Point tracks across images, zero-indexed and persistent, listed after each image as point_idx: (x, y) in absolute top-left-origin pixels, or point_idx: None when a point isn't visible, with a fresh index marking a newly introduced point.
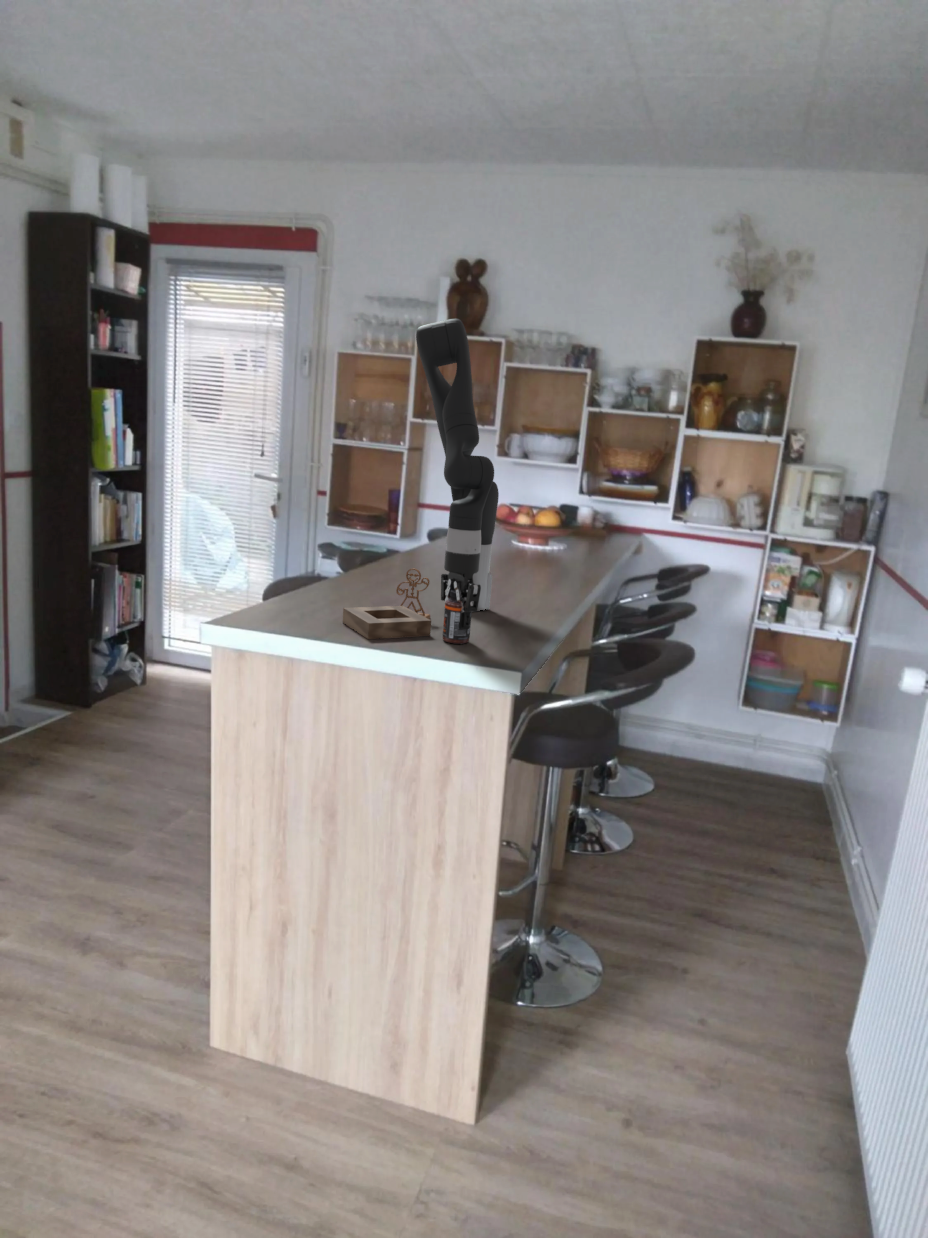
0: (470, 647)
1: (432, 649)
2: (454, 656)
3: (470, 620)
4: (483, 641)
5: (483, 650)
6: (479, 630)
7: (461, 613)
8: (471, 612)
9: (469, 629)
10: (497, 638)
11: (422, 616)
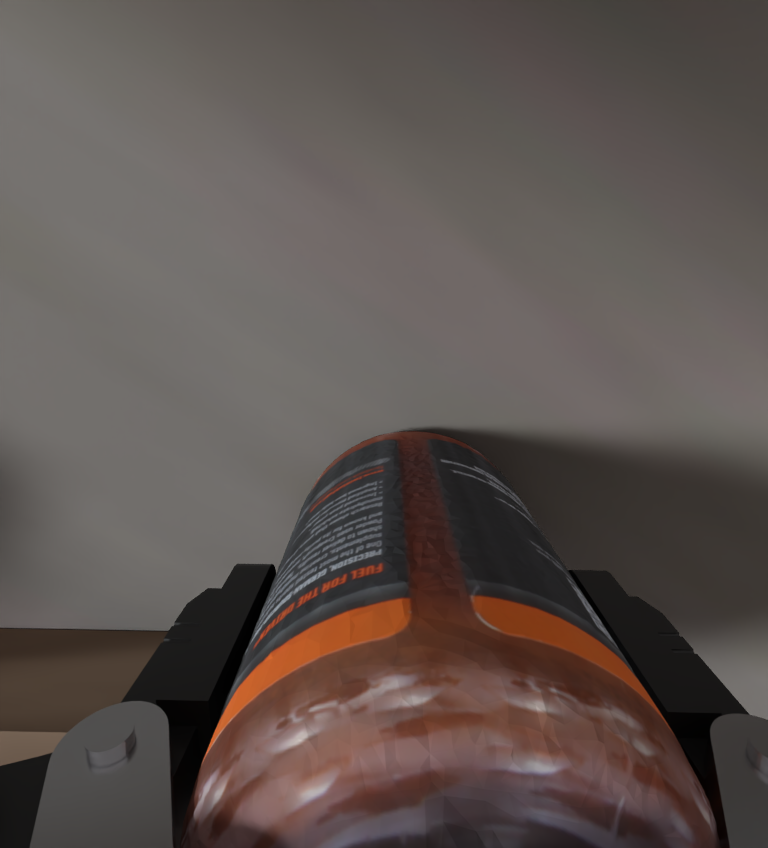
0: (606, 504)
1: None
2: (762, 717)
3: (555, 556)
4: (472, 294)
5: (720, 449)
6: (76, 96)
7: None
8: (577, 605)
9: (528, 512)
10: (407, 77)
11: (2, 740)
